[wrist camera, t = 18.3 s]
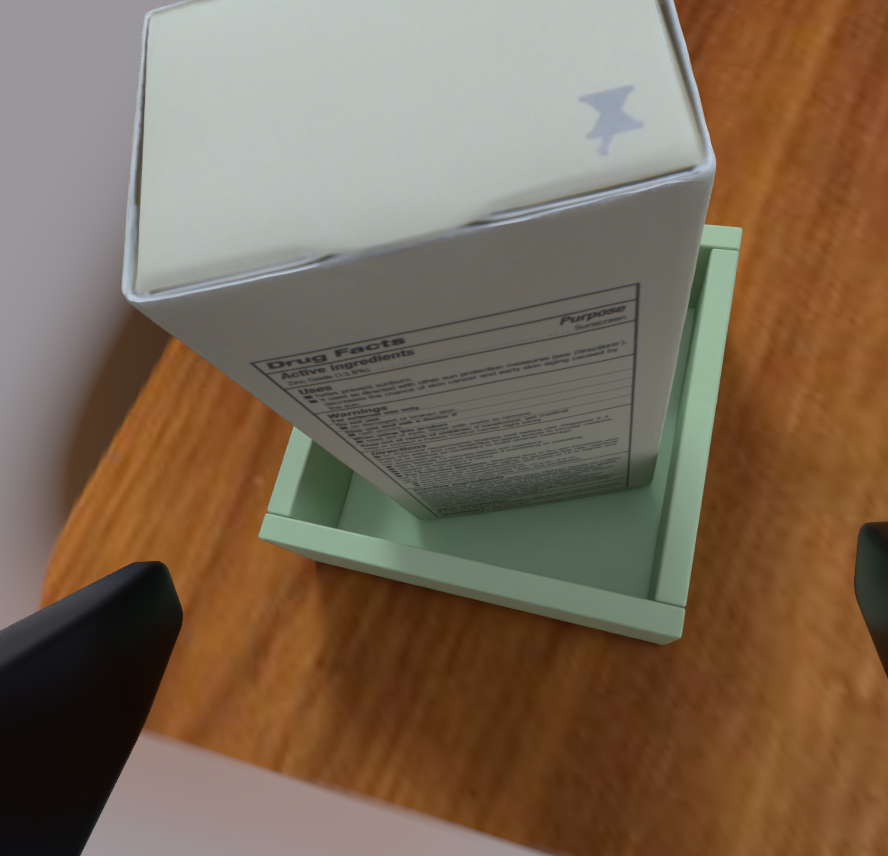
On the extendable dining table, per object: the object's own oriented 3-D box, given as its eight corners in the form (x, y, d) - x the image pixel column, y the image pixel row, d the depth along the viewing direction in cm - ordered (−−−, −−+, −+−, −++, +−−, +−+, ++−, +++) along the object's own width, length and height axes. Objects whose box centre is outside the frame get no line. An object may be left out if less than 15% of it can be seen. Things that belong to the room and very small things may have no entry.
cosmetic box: (623, 332, 19) (663, -162, 8) (656, 490, 18) (765, 164, 6) (390, 374, 20) (125, -11, 9) (403, 526, 19) (105, 301, 7)
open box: (665, 645, 17) (681, 639, 14) (313, 560, 19) (256, 538, 16) (719, 301, 19) (743, 226, 16) (401, 263, 22) (367, 191, 19)
